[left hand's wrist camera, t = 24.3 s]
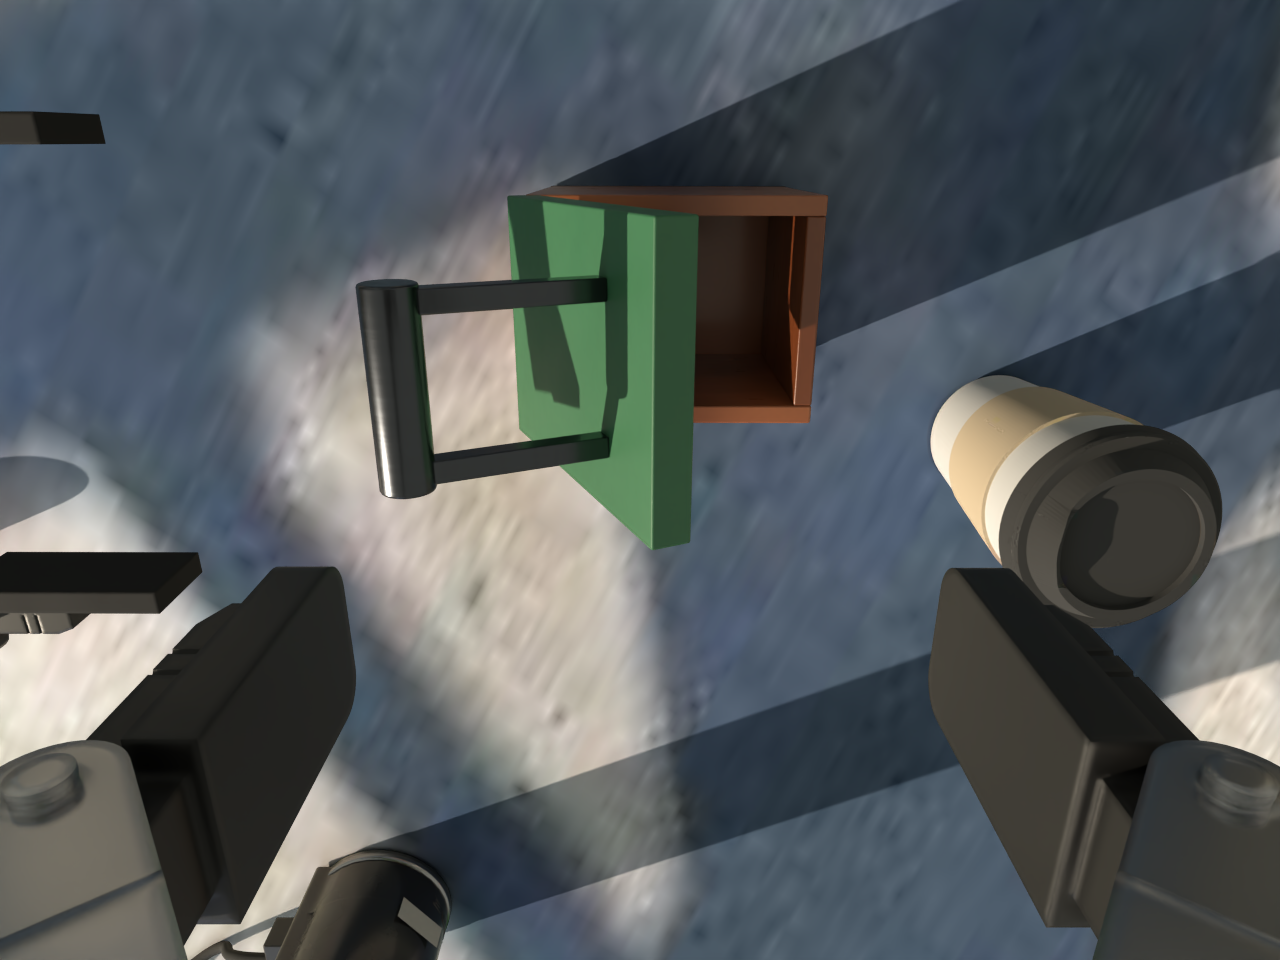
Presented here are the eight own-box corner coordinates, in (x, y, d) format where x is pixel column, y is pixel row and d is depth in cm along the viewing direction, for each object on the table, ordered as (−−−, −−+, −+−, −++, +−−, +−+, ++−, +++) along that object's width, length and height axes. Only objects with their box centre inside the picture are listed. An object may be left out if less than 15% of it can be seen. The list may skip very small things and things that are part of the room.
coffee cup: (1083, 352, 45) (1281, 439, 31) (1059, 505, 49) (1229, 646, 35) (916, 359, 45) (1039, 448, 31) (904, 511, 49) (1011, 654, 35)
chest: (783, 186, 42) (828, 195, 32) (772, 364, 46) (810, 423, 36) (552, 185, 42) (525, 194, 32) (558, 364, 46) (535, 423, 36)
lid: (700, 214, 21) (366, 223, 18) (691, 543, 24) (408, 601, 21) (539, 195, 32) (312, 198, 29) (548, 426, 35) (346, 452, 32)
